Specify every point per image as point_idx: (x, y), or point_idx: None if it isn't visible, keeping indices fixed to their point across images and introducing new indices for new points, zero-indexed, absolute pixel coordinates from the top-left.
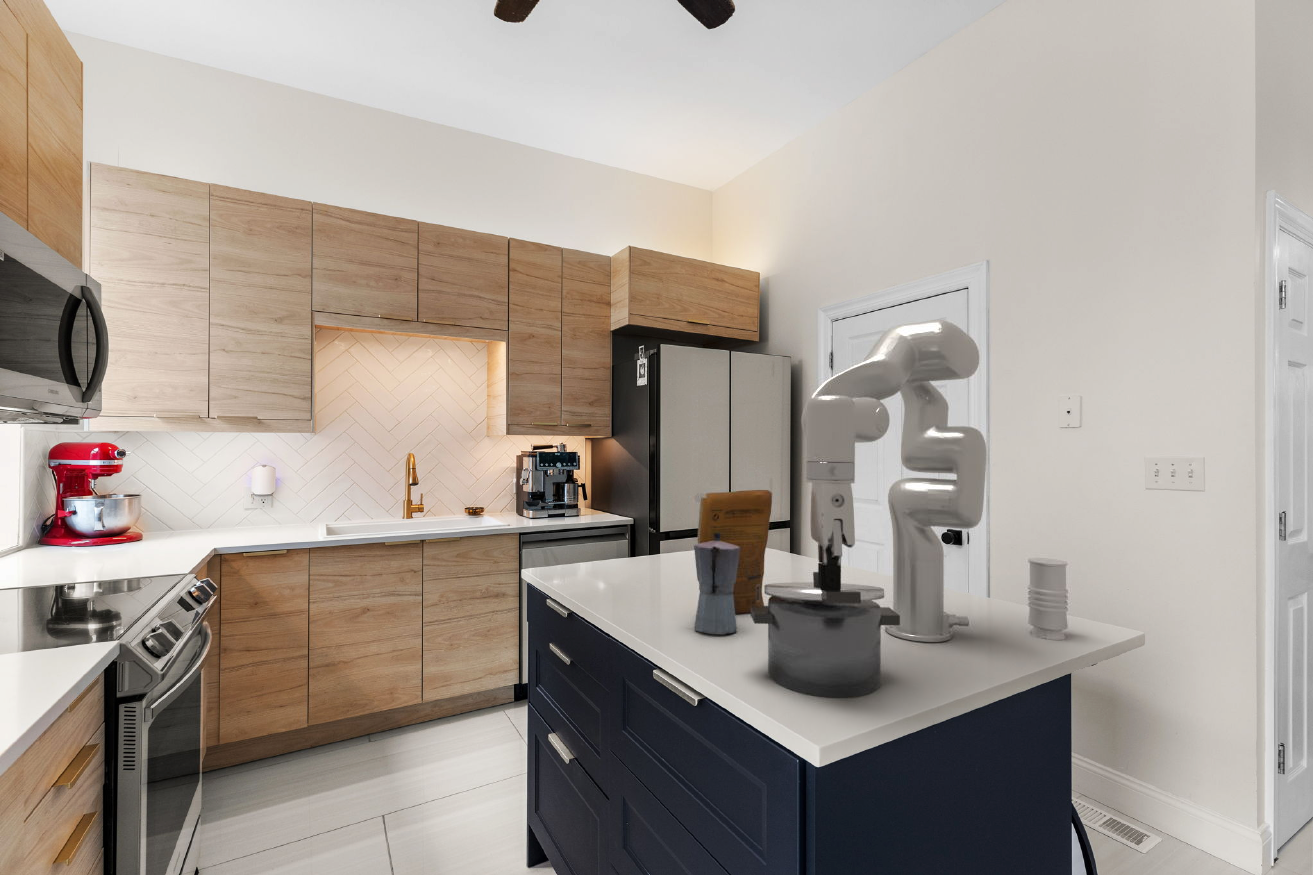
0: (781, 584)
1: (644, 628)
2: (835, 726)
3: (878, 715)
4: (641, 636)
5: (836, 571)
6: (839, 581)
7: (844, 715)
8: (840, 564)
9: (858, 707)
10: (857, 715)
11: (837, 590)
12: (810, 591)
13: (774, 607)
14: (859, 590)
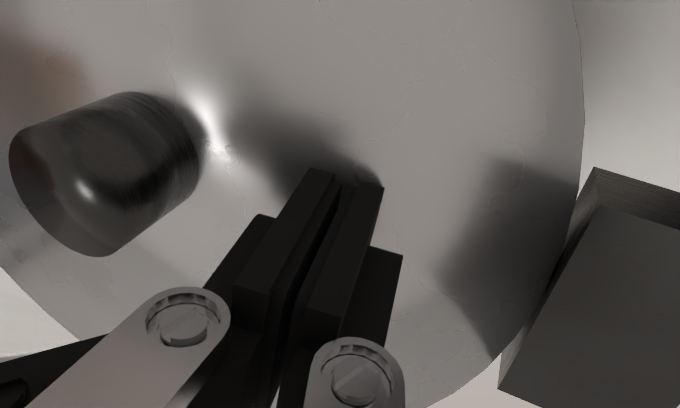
0: (50, 274)
1: (3, 317)
2: (670, 173)
3: (669, 6)
4: (57, 337)
5: (385, 329)
6: (372, 227)
7: (618, 114)
8: (395, 367)
9: (585, 42)
10: (636, 76)
11: (571, 332)
12: (418, 381)
13: None
14: (397, 19)
